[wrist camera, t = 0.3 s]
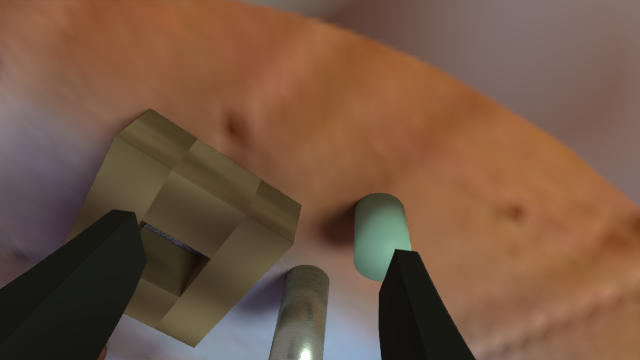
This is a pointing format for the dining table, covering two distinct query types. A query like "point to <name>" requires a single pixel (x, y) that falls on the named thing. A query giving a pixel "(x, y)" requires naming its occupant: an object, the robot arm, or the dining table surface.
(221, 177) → the hole block
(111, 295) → the robot arm
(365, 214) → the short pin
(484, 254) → the dining table surface
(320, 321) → the long pin
